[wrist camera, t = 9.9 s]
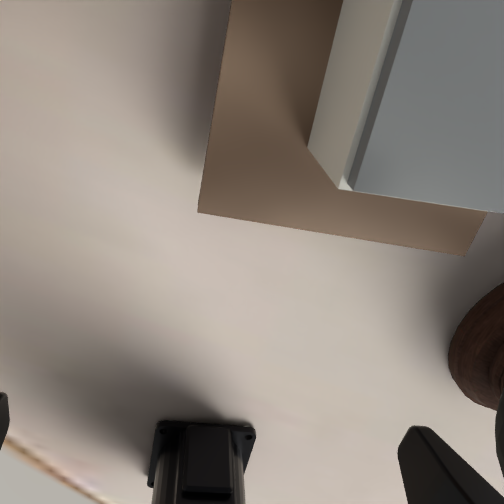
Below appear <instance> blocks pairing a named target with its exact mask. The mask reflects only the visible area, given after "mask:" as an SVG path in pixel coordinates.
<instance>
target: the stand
mask: <svg viewBox="0 0 504 504" xmlns="http://www.w3.org/2000/svg"><path fill="white" fill-rule="evenodd" d="M342 4H343V0H232V2H231V8H230V14H229V20H228V26H227V32H226V38H225V44H224V50H223V56H222V62H221V68H220V74H219V80H218V86H217V92H216V98H215V104H214V110H213V116H212V122H211V128H210V134H209V140H208V146H207V152H206V158H205V164H204V170H203V176H202V182H201V188H200V194H199V200H198V213H204V214H210V215H216V216H222V217H228V218H234V219H240V220H246V221H253V222H259V223H265V224H271V225H277V226H283V227H289V228H295V229H301V230H307V231H313V232H320V233H326V234H332V235H338V236H344V237H350V238H356V239H362V240H368V241H374V242H380V243H386V244H393V245H399V246H405V247H411V248H417V249H423V250H429V251H435V252H441V253H447V254H453V255H460V256H465V254H466V252H467V251H468V249H469V247H470V245H471V243H472V241H473V239H474V237H475V235H476V233H477V231H478V230H479V228H480V226H481V224H482V222H483V220H484V218H485V216H486V214H487V212H488V211H482V210H475V209H468V208H462V207H455V206H448V205H442V204H435V203H428V202H422V201H415V200H408V199H402V198H395V197H388V196H382V195H375V194H368V193H362V192H355V191H348V190H342V189H338V188H337V187H336V185H335V184H334V183H333V181H332V180H331V179H330V177H329V176H328V175H327V173H326V172H325V171H324V169H323V168H322V167H321V165H320V164H319V163H318V161H317V160H316V159H315V157H314V156H313V155H312V153H311V152H310V151H309V149H308V148H307V146H308V142H309V138H310V134H311V130H312V126H313V122H314V118H315V114H316V110H317V106H318V101H319V97H320V93H321V89H322V85H323V81H324V77H325V73H326V69H327V65H328V61H329V57H330V53H331V49H332V45H333V40H334V36H335V32H336V28H337V24H338V20H339V16H340V12H341V8H342Z"/></svg>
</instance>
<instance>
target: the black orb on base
mask: <svg viewBox="0 0 504 504" xmlns="http://www.w3.org/2000/svg"><path fill="white" fill-rule="evenodd" d="M448 361H449V369H450V372H451V375H452V378H453V379H454V381H455V382H456V384H457V385H458V387H459V388H460V389H461V391H462V392H463V393H464V395H465V396H467V397H468V398H469V399H471V400H472V401H473V402H475V403H477V404H479V405H482V406H484V407H487V408H491V409H493V410H496V411H497V414H496V421H495V437H496V453H497V457H498V460H499V463H500V467H501V470H502V474H503V477H504V283H502V284H501V285H499V286H497V287H496V288H495V289H493V290H492V291H491V292H490V293H488V294H487V295H486V296H484V297H483V298H482V299H481V300H480V301H479V302H478V303H477V304H476V305H475V306H474V307H473V308H472V309H471V310H470V311H469V312H468V313H467V315H466V316H465V318H464V319H463V320H462V322H461V323H460V325H459V326H458V328H457V330H456V332H455V334H454V336H453V338H452V341H451V345H450V349H449V353H448Z"/></svg>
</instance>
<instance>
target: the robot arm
mask: <svg viewBox="0 0 504 504" xmlns="http://www.w3.org/2000/svg"><path fill="white" fill-rule="evenodd" d="M9 421H10V418H9V406H8V397H7V394H6V393H4V392H0V450H1V447H2V444H3V442H4V439H5V436H6V434H7V431H8V427H9ZM255 439H256V431H255V429H254V428H252V427H243V426H230V425H216V424H203V423H190V422H176V421H160V422H158V423H157V425H156V430H155V436H154V443H153V449H152V455H151V462H150V468H149V474H148V481H147V485H148V486H149V487H150V488H153V496H152V504H245V489H244V473H245V470H246V467H247V464H248V461H249V458H250V455H251V452H252V449H253V445H254V442H255ZM398 460H399V465H400V469H401V474H402V479H403V483H404V488H405V492H406V497H407V501H408V504H504V497H503V496H502V495H501V494H500V493H499V492H498V491H496V490H495V489H494V488H493V487H492V486H491V485H490V484H489V483H488V482H487V481H486V480H485V479H484V478H483V477H482V476H481V475H480V474H478V473H477V472H476V471H475V470H474V469H473V468H472V467H471V466H470V465H469V464H468V463H467V462H466V461H465V460H464V459H463V458H462V457H460V456H459V455H458V454H457V453H456V452H455V451H454V450H453V449H452V448H451V447H450V446H449V445H448V444H447V443H446V442H445V441H443V440H442V439H441V438H440V437H439V436H438V435H437V434H436V433H435V432H434V431H433V430H432V429H430V428H429V427H426V426H415V425H414V426H411V427H410V428H409V429H408V431H407V433H406V434H405V436H404V438H403V440H402V441H401V443H400V445H399V447H398Z"/></svg>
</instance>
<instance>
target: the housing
mask: <svg viewBox="0 0 504 504" xmlns="http://www.w3.org/2000/svg"><path fill="white" fill-rule="evenodd" d="M307 148H308V149H309V151H310V152H311V153H312V155H313V156H314V157H315V159H316V160H317V161H318V163H319V164H320V165H321V167H322V168H323V169H324V171H325V172H326V173H327V175H328V176H329V177H330V179H331V180H332V181H333V183H334V184H335V185H336V187H337V188H338V189H342V190H348V191H355V192H362V193H368V194H375V195H382V196H388V197H395V198H402V199H408V200H415V201H422V202H428V203H435V204H442V205H448V206H455V207H462V208H468V209H475V210H482V211H488V212H497V213H504V0H343V4H342V8H341V12H340V16H339V20H338V24H337V28H336V32H335V36H334V40H333V45H332V49H331V53H330V57H329V61H328V65H327V69H326V73H325V77H324V81H323V85H322V89H321V93H320V97H319V101H318V106H317V110H316V114H315V118H314V122H313V126H312V130H311V134H310V138H309V142H308V146H307Z"/></svg>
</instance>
